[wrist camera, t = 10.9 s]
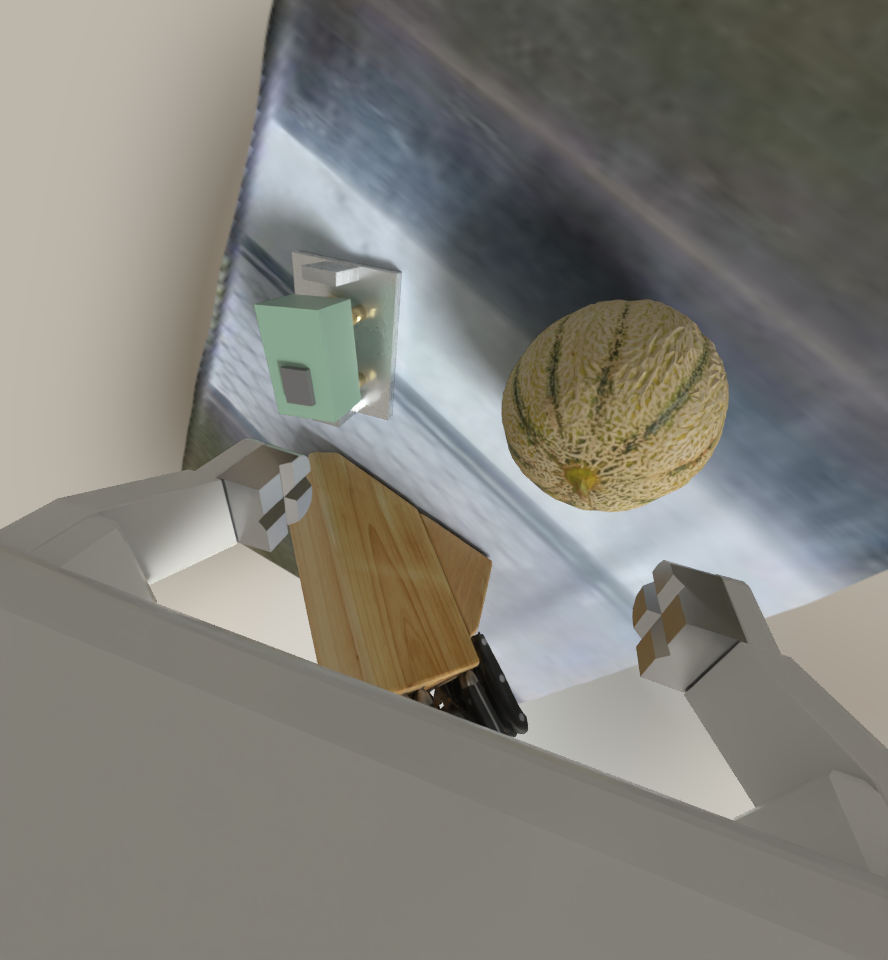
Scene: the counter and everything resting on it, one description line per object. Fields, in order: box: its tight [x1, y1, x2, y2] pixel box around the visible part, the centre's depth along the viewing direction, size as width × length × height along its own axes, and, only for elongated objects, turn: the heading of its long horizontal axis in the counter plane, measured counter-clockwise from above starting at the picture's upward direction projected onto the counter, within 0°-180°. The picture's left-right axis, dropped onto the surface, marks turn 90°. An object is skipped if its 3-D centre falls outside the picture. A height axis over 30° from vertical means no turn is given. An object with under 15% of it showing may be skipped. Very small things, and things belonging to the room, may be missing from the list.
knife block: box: [289, 452, 528, 738], centre depth 40 cm, size 11×35×31 cm, turn 56°
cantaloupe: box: [502, 299, 729, 512], centre depth 28 cm, size 15×15×15 cm
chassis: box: [292, 251, 402, 427], centre depth 37 cm, size 14×10×5 cm
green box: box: [254, 294, 361, 423], centre depth 33 cm, size 9×6×6 cm, turn 179°
